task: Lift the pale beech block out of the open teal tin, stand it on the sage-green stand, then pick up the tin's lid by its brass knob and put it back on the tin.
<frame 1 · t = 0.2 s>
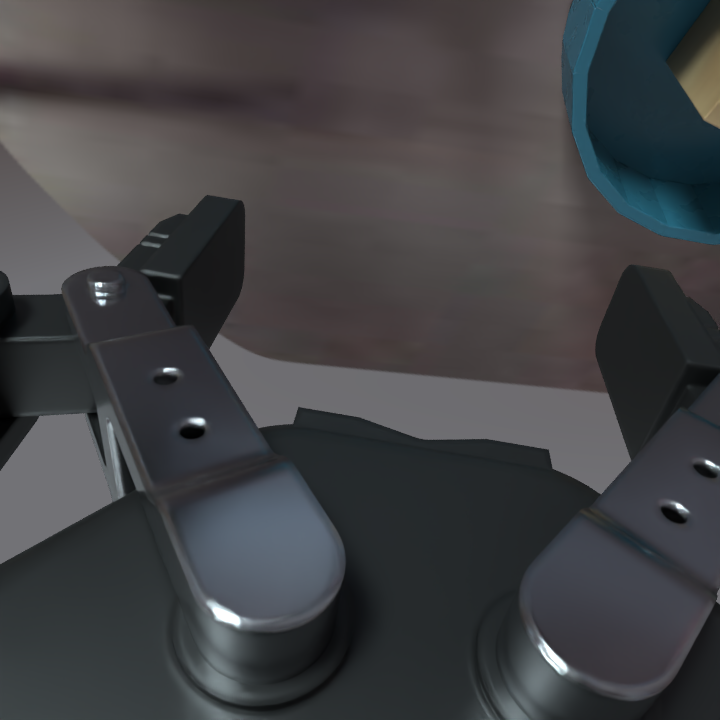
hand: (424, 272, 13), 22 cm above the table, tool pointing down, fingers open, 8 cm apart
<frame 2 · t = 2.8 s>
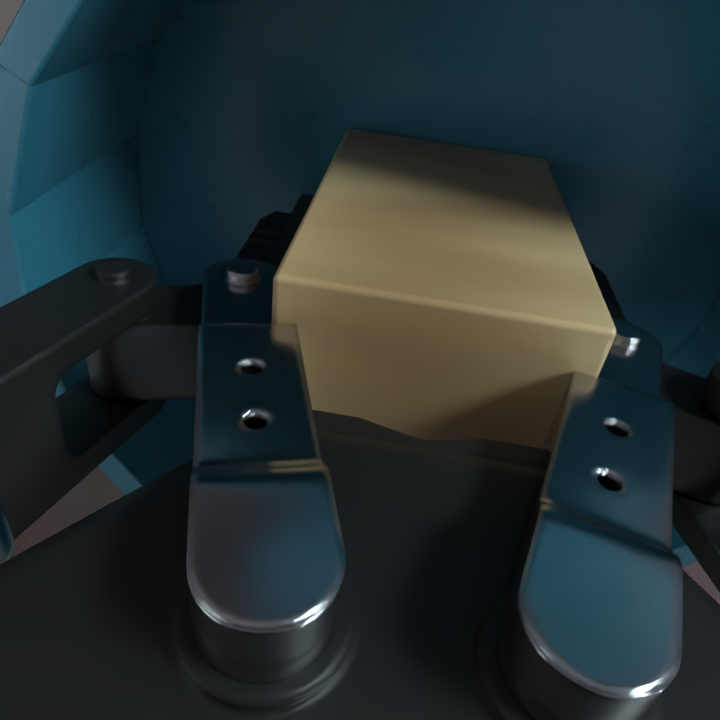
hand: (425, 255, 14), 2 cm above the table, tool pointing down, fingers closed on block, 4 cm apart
tin: (429, 227, 15), on the table
block: (428, 235, 15), point 1 cm above the table, touching gripper, tin
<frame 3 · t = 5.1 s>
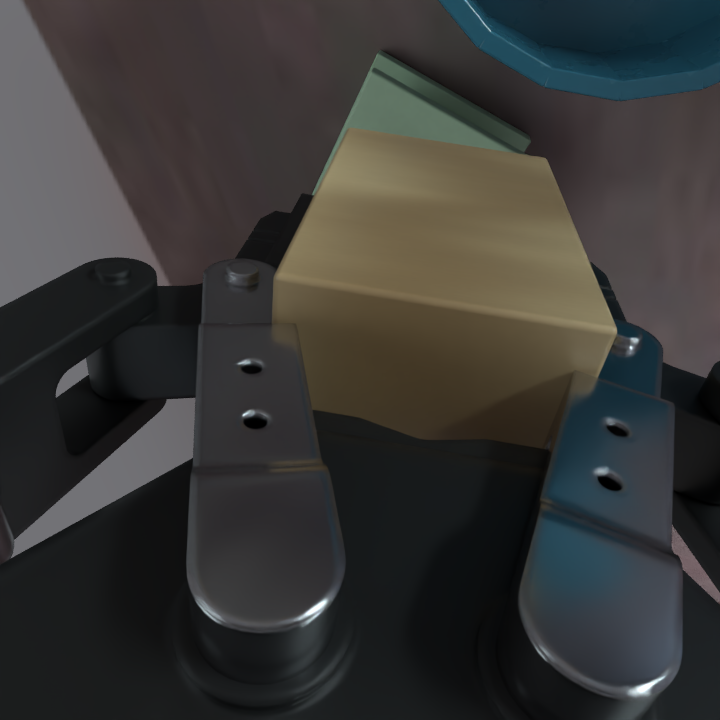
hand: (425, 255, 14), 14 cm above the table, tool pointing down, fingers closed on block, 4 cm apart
stand: (414, 169, 27), on the table
block: (428, 234, 15), point 13 cm above the table, touching gripper
when the fingers open (5 cm above the table, at t = 7.6 s): block stays where it is, resting on stand.
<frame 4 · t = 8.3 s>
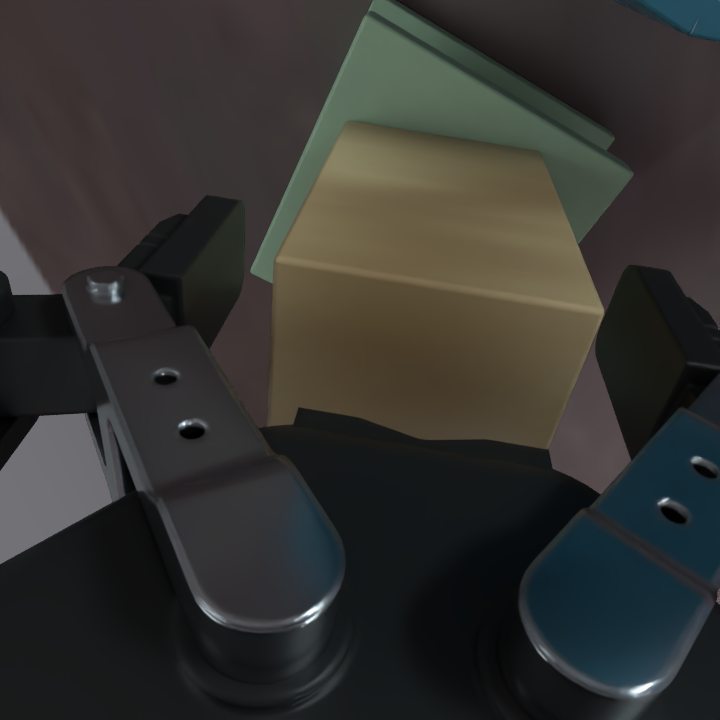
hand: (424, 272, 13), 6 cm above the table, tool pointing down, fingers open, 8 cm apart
stand: (429, 179, 18), on the table
block: (424, 226, 15), point 3 cm above the table, touching stand
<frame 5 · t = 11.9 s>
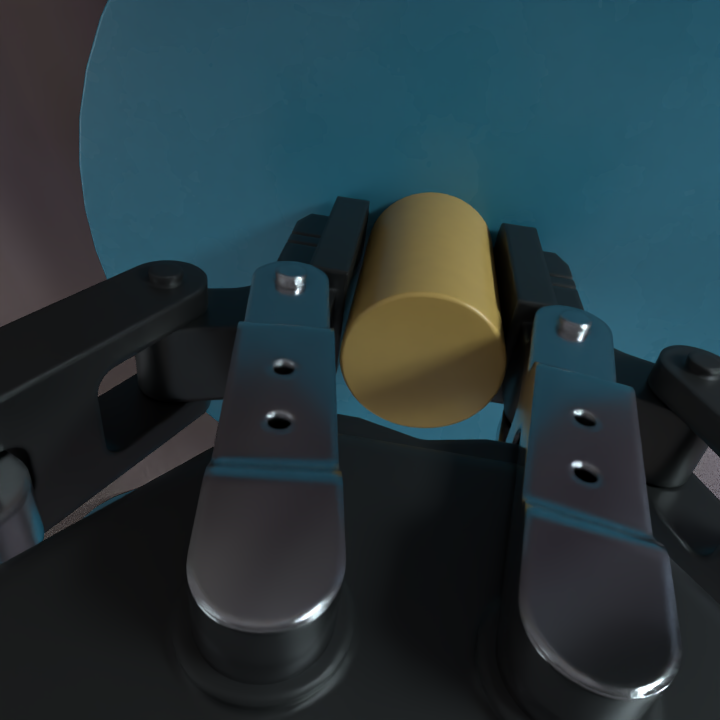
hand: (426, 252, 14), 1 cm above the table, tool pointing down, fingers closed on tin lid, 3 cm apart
tin lid: (429, 242, 14), point 1 cm above the table, touching gripper
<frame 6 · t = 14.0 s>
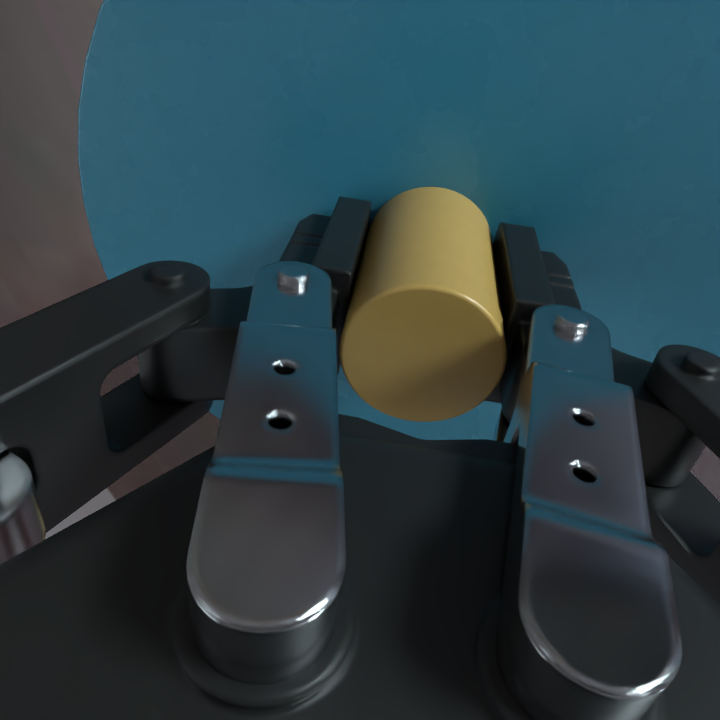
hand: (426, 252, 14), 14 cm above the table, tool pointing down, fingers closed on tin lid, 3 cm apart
tin lid: (429, 236, 14), point 13 cm above the table, touching gripper
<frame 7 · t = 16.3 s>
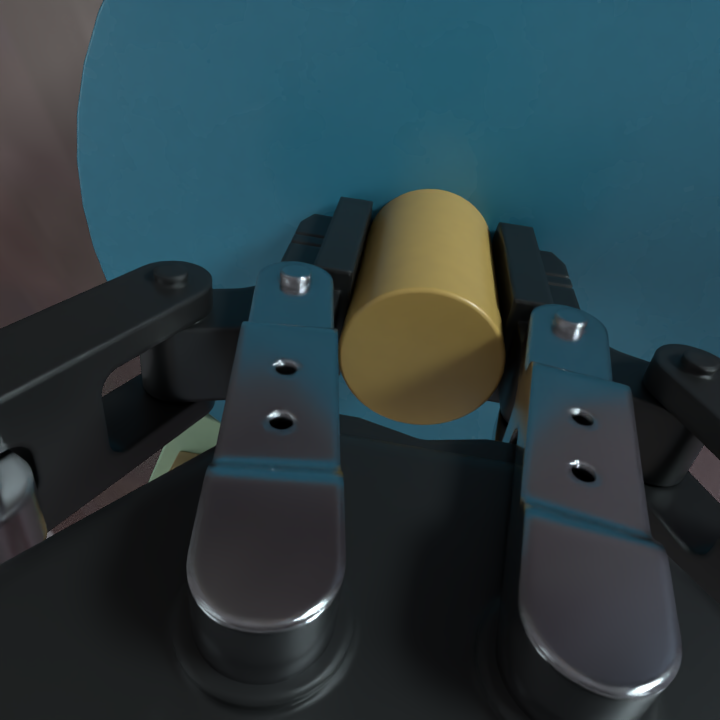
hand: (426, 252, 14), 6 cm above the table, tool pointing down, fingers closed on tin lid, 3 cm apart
stand: (262, 439, 26), on the table
tin lid: (428, 239, 14), point 6 cm above the table, touching gripper, tin
when the fingers open (6 cm above the table, at t = 16.4 s): tin lid stays where it is, resting on tin.
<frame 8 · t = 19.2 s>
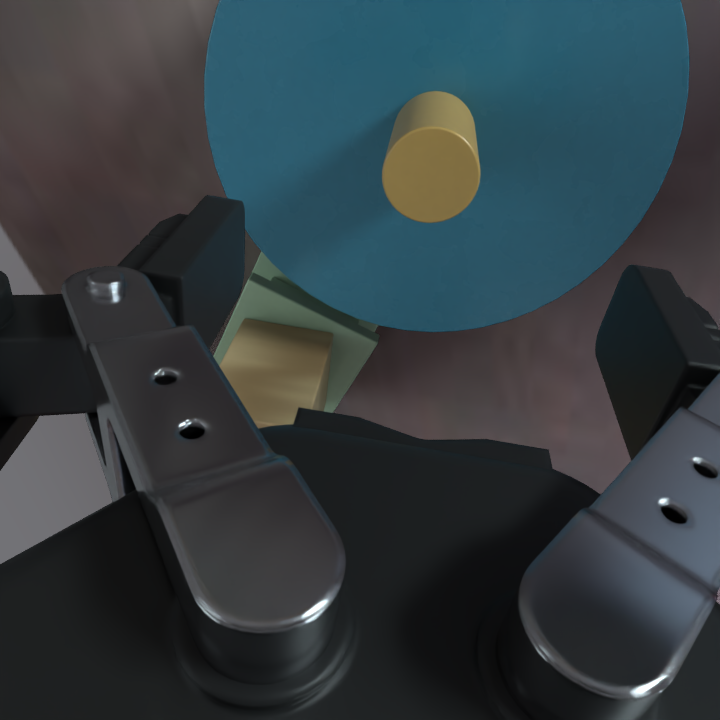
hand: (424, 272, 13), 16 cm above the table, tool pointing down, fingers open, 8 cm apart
stand: (300, 325, 34), on the table
tin lid: (434, 130, 22), point 5 cm above the table, touching tin
block: (286, 361, 31), point 3 cm above the table, touching stand
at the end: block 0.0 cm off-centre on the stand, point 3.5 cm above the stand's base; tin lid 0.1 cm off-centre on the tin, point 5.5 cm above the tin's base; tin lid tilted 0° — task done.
